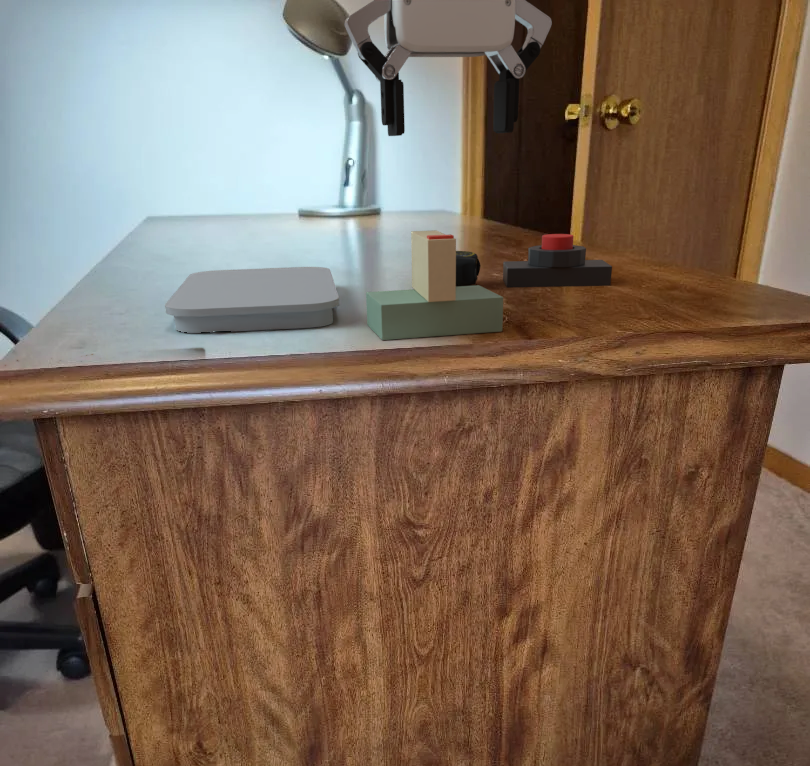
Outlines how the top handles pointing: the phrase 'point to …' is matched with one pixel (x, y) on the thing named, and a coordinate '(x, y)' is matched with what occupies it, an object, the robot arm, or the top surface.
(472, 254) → the tape measure
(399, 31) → the robot arm
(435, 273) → the cream red-tipped block
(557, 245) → the bell button
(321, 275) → the grey flat slab
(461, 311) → the green rectangular block
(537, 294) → the top surface
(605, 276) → the dark grey button housing
